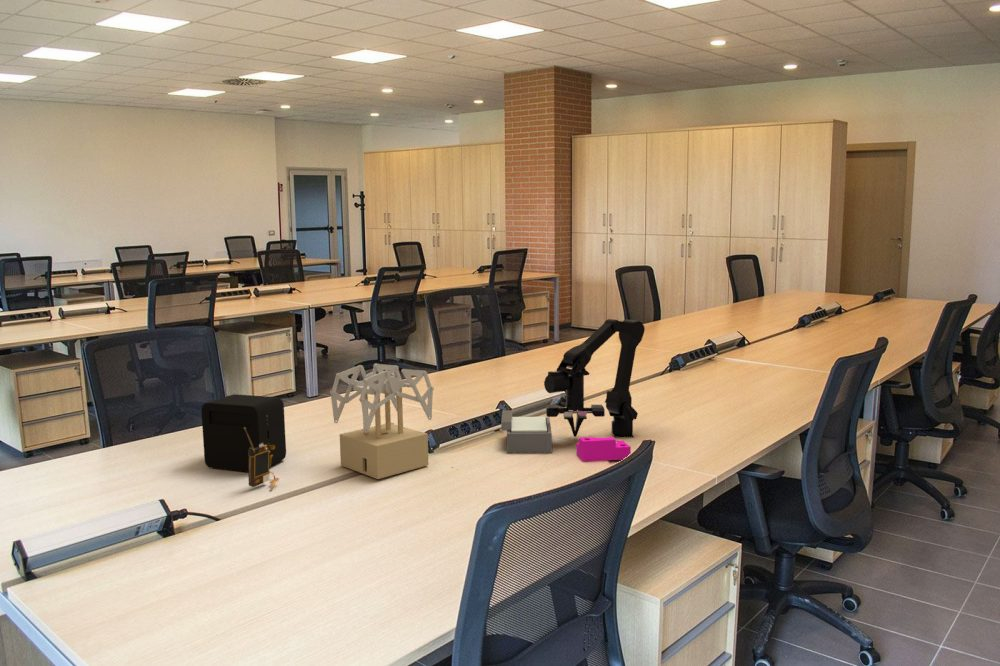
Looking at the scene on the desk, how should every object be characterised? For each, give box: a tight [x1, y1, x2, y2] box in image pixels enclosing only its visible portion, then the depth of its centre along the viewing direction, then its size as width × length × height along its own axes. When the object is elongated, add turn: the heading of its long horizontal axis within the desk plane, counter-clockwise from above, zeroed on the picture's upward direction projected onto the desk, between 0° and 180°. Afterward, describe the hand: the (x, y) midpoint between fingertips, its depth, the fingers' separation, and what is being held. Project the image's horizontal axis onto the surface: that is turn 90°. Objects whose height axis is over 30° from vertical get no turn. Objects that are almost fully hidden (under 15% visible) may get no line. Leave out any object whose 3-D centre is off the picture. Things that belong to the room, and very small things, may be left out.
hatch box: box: [506, 416, 553, 454], centre depth 252 cm, size 14×21×6 cm, turn 178°
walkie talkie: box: [244, 427, 280, 489], centre depth 215 cm, size 13×13×18 cm
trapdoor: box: [500, 409, 547, 432], centre depth 252 cm, size 14×18×3 cm
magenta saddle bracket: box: [575, 436, 632, 463], centre depth 237 cm, size 15×6×8 cm
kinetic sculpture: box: [329, 363, 435, 480], centre depth 230 cm, size 25×20×30 cm
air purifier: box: [200, 393, 287, 473], centre depth 234 cm, size 20×15×20 cm
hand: (575, 436), depth 252 cm, fingers closed
